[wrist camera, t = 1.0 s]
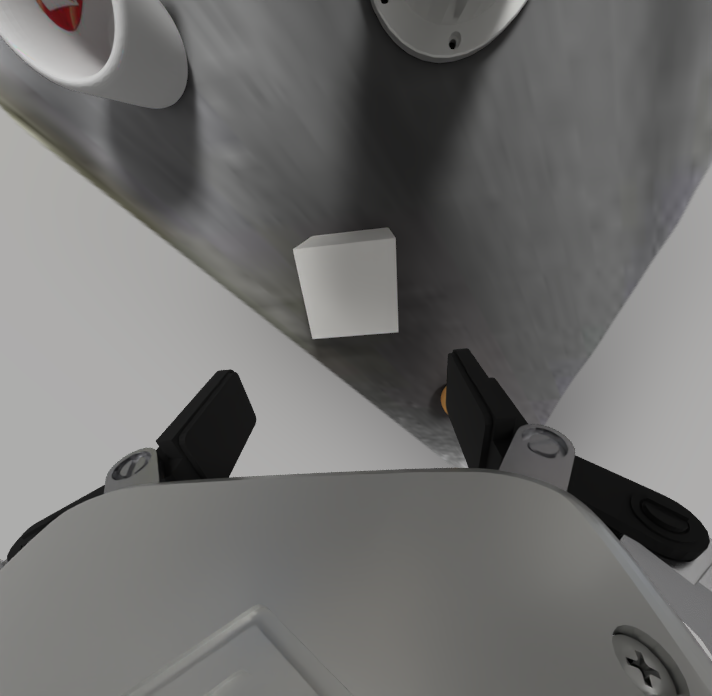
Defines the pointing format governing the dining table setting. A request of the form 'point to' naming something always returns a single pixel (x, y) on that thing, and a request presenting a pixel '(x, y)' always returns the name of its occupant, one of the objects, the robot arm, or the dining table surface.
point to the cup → (100, 47)
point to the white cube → (349, 283)
